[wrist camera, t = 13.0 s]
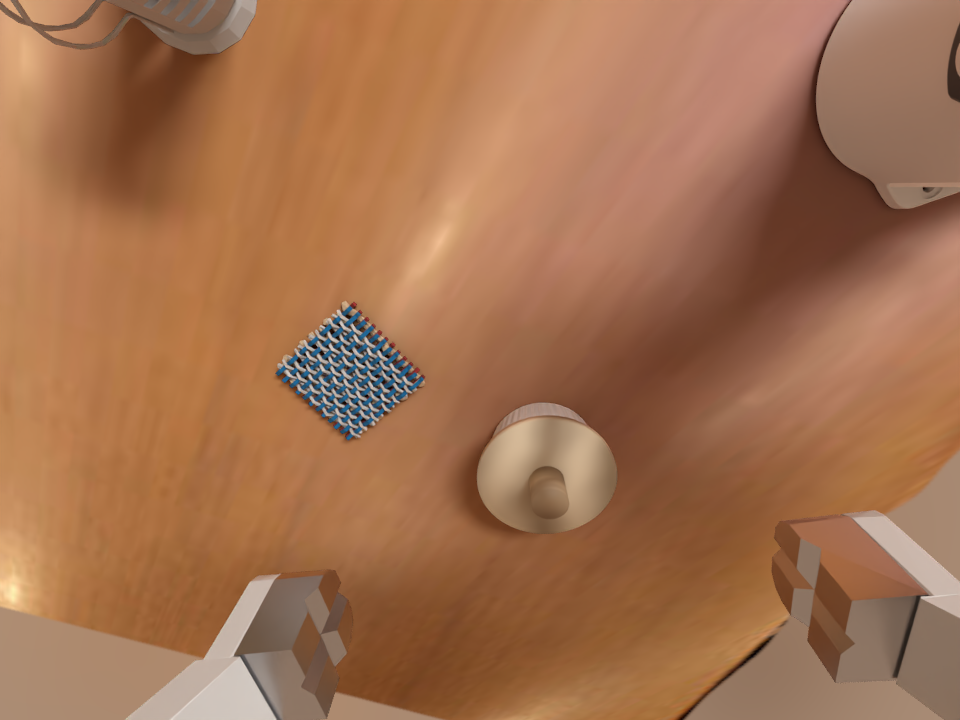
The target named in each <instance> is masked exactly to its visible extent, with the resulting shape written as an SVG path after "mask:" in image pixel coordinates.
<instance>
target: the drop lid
mask: <svg viewBox="0 0 960 720" xmlns="http://www.w3.org/2000/svg"><path fill="white" fill-rule="evenodd" d="M616 484H617V466H616V462H615V459H614V456H613V454H612V452H611V450H610V448H609V446H608V444H607V443H606V441H605V440H604V439H603V438H602V437H601V436H600V434H599V433H597V432H596V431H595V430H594V429H592V428H591V427H589V426H587V425H586V424H584V423H582V422H579V421H577V420H575V419H571V418H568V417H562V416H554V415H543V416H534V417H529V418H525V419H522V420H519V421H517V422H514V423H512V424H510V425H508V426H507V427H505V428H503V429H502V430H501V431H499V432H498V433H497V434H496V435H495V436H494V437H493V438H492V439H491V440H490V441H489V442H488V444H487V445H486V446H485V448H484V450H483V452H482V454H481V456H480V459H479V463H478V468H477V486H478V491H479V494H480V497H481V499H482V501H483V503H484V504H485V506H486V507H487V509H488V510H489V511H490V512H491V513H492V514H493V515H494V516H495V517H496V518H497V519H499V520H500V521H502V522H503V523H505V524H507V525H509V526H511V527H513V528H516V529H518V530H521V531H525V532H530V533H537V534H553V533H560V532H565V531H569V530H572V529H575V528H577V527H580V526H582V525H584V524H586V523H587V522H589V521H591V520H592V519H594V518H595V517H596V516H597V515H599V514H600V513H601V512H602V511H603V509H604V508H605V507H606V506H607V504H608V503H609V502H610V500H611V498H612V496H613V494H614V491H615V489H616Z"/></svg>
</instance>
